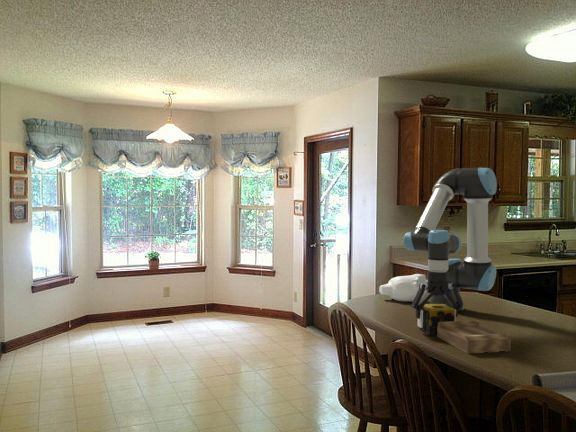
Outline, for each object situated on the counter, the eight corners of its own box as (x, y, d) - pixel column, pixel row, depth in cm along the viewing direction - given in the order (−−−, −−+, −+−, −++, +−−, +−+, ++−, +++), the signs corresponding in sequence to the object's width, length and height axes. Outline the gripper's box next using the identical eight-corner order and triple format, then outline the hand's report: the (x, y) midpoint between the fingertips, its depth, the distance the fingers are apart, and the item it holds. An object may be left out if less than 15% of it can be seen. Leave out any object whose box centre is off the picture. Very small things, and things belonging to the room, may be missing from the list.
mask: (381, 301, 257) (431, 301, 249) (377, 303, 243) (430, 302, 235) (380, 274, 258) (430, 273, 250) (376, 275, 245) (428, 273, 237)
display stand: (476, 334, 185) (476, 320, 185) (510, 351, 166) (511, 334, 166) (437, 336, 182) (437, 321, 182) (467, 353, 163) (467, 336, 162)
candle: (418, 329, 193) (419, 303, 193) (444, 328, 194) (444, 303, 194) (428, 336, 183) (429, 309, 183) (455, 336, 184) (455, 309, 184)
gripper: (462, 269, 194) (460, 322, 195) (403, 269, 189) (401, 324, 190) (473, 271, 187) (471, 327, 187) (411, 272, 182) (410, 329, 182)
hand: (436, 326), depth 188 cm, fingers open, 13 cm apart
